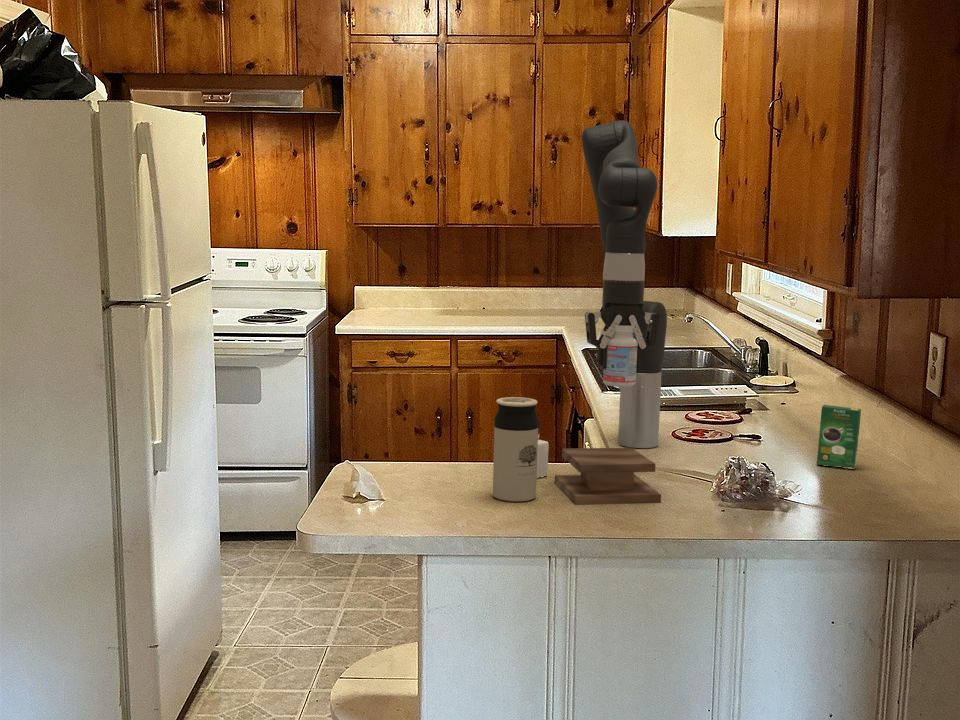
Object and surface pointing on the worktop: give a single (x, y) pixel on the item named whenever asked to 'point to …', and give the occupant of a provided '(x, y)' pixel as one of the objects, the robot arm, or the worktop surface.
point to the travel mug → (515, 450)
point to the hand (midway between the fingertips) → (620, 368)
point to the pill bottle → (621, 358)
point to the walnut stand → (607, 476)
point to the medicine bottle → (542, 456)
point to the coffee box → (838, 436)
